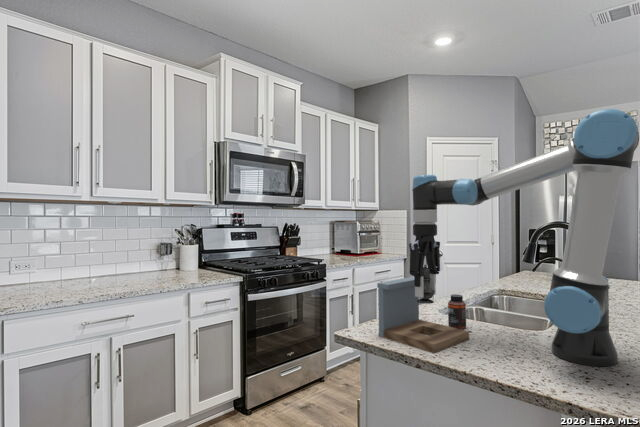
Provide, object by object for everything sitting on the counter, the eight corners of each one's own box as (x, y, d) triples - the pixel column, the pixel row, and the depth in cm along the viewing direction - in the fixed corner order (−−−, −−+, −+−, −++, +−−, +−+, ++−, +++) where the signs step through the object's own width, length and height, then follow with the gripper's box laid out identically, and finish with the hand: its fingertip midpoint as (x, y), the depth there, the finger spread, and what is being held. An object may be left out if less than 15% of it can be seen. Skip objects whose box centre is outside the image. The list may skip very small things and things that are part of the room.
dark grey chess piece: (435, 304, 122) (435, 265, 122) (416, 303, 123) (416, 265, 123) (434, 300, 127) (433, 263, 127) (415, 299, 128) (415, 263, 128)
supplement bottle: (466, 326, 138) (466, 294, 138) (465, 330, 133) (465, 297, 133) (449, 324, 141) (449, 293, 141) (447, 328, 135) (446, 296, 135)
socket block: (469, 339, 124) (468, 331, 124) (434, 353, 112) (434, 344, 112) (419, 326, 138) (419, 319, 138) (383, 337, 126) (383, 329, 126)
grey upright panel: (425, 327, 137) (425, 277, 137) (388, 339, 124) (387, 284, 124) (415, 324, 140) (414, 276, 140) (377, 336, 127) (377, 283, 127)
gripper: (431, 222, 134) (432, 289, 134) (396, 223, 122) (397, 297, 122) (451, 223, 128) (452, 293, 128) (416, 224, 116) (417, 301, 116)
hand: (425, 295), depth 125 cm, fingers closed on dark grey chess piece, 6 cm apart
